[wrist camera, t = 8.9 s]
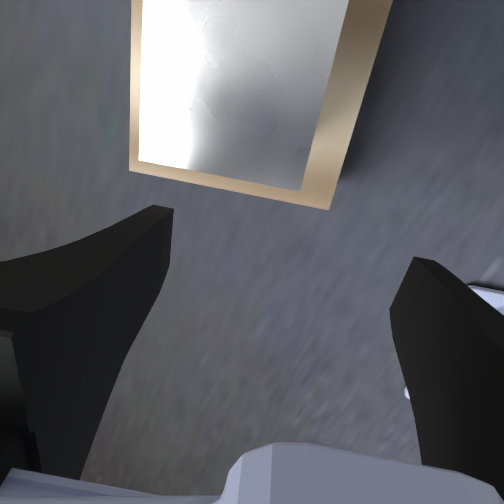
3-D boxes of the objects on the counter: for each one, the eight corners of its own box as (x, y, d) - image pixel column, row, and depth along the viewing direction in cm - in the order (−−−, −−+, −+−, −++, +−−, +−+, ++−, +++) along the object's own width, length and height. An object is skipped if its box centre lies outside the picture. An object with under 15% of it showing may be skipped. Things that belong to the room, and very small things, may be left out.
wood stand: (324, 184, 21) (328, 210, 18) (149, 149, 21) (129, 170, 18) (438, -211, 13) (472, -260, 11) (167, -269, 13) (136, -332, 11)
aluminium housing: (298, 143, 17) (299, 191, 13) (178, 119, 17) (139, 159, 12) (372, -165, 12) (413, -255, 8) (203, -201, 12) (150, -311, 8)
